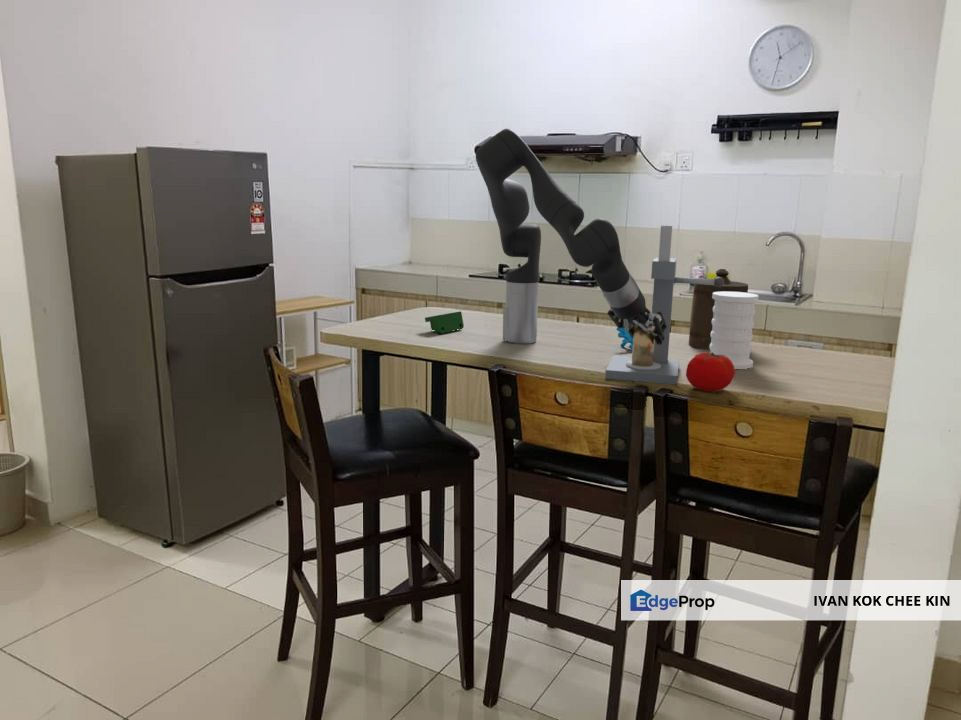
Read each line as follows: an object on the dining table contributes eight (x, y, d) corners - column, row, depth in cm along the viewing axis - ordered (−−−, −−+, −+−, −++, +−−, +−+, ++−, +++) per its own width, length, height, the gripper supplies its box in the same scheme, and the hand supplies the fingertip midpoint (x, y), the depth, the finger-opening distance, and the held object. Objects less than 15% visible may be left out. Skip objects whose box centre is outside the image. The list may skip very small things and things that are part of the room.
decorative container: (699, 359, 191) (705, 290, 187) (743, 359, 191) (750, 291, 187) (712, 369, 180) (719, 297, 176) (759, 370, 179) (767, 297, 176)
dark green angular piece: (448, 342, 228) (450, 315, 230) (462, 340, 224) (464, 312, 226) (421, 332, 219) (424, 304, 222) (435, 330, 216) (438, 301, 218)
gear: (627, 347, 196) (614, 317, 200) (614, 359, 200) (602, 330, 205) (657, 349, 201) (643, 320, 206) (644, 361, 206) (631, 332, 210)
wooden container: (733, 341, 215) (740, 267, 210) (749, 352, 201) (757, 272, 196) (683, 340, 216) (689, 266, 211) (695, 350, 202) (701, 271, 197)
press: (605, 378, 169) (613, 225, 161) (613, 362, 184) (622, 222, 177) (716, 388, 162) (731, 228, 154) (715, 371, 178) (728, 225, 170)
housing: (630, 365, 171) (633, 322, 168) (632, 361, 175) (635, 319, 173) (652, 367, 169) (655, 324, 167) (653, 362, 174) (657, 320, 172)
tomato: (678, 384, 165) (681, 348, 163) (723, 384, 165) (726, 348, 163) (693, 395, 155) (696, 357, 154) (740, 395, 156) (743, 357, 154)
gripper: (588, 302, 166) (617, 347, 176) (641, 310, 155) (668, 357, 166) (604, 278, 168) (631, 323, 179) (657, 284, 158) (682, 331, 168)
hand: (649, 339), depth 172 cm, fingers open, 6 cm apart
